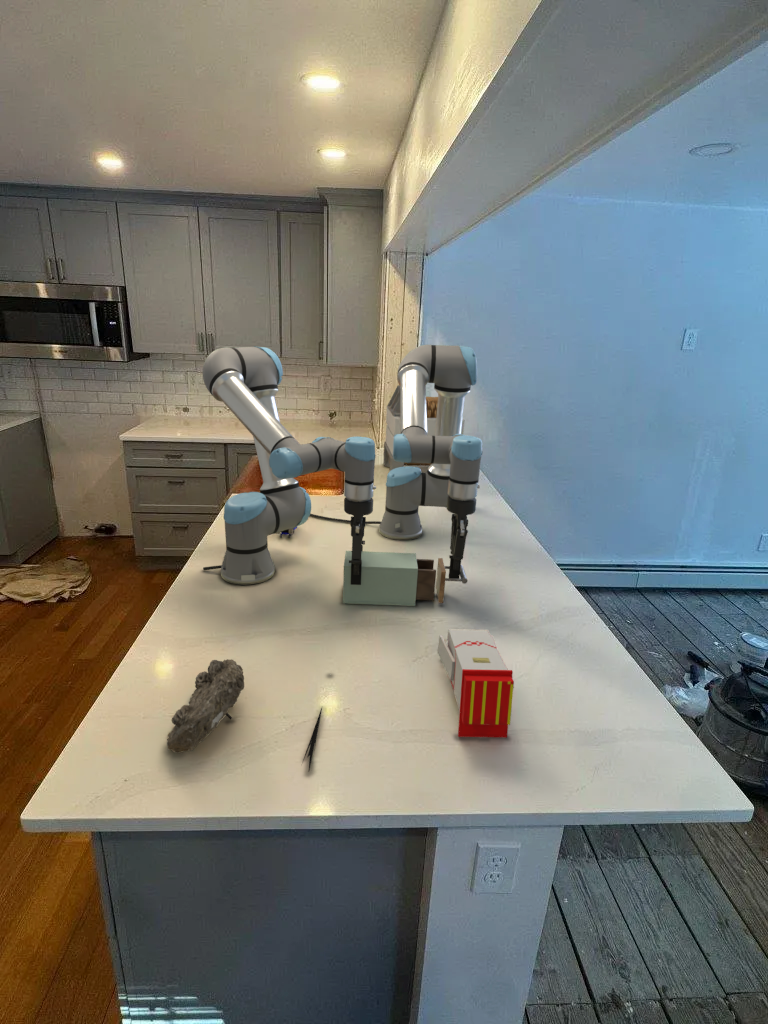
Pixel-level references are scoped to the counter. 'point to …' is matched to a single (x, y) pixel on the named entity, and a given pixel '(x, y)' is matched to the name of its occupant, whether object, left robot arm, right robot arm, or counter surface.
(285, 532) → the figurine character
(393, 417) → the white slatted crate
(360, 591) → the cabinet
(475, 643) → the toy
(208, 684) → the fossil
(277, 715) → the counter surface
